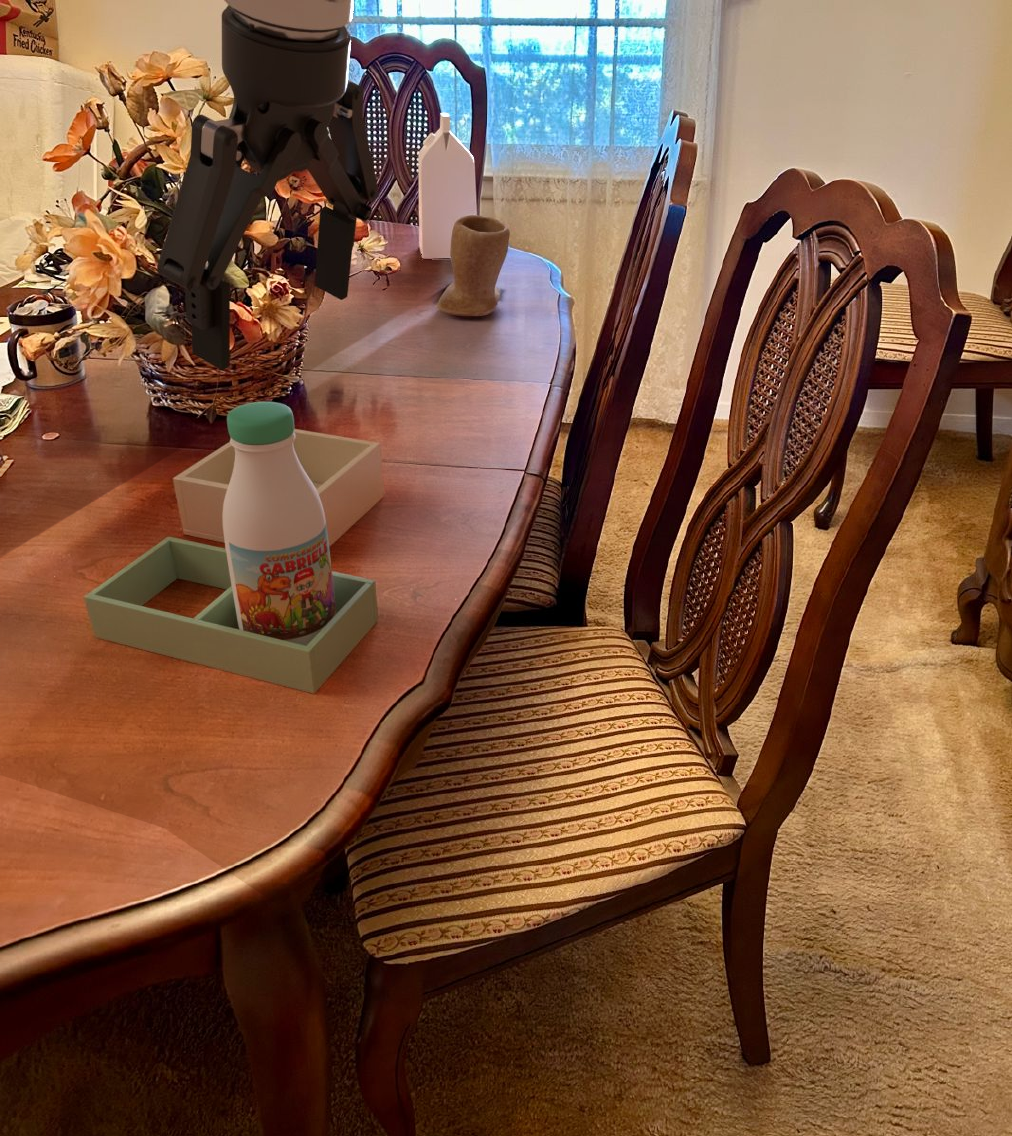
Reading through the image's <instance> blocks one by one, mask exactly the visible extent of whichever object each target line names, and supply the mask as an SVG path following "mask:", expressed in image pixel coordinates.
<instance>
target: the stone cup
mask: <svg viewBox="0 0 1012 1136" xmlns="http://www.w3.org/2000/svg"><path fill="white" fill-rule="evenodd" d="M510 237H511V231H510V228H509V226H507V224H505V222H503V221H500V220H499V219H496V218H493V217H490V216H485V215H478V214H477V215H468V216H464V217H461V218H459V219H458V220H457V221H456V222H455V224H454V227H453V230H452V238H451V251H450V257H451V259H450V262H451V266H452V272H453V281H452V282H451V283H449V285H448V286H447V287H446V288H445V290H444V292H442V295H440V297H439V300H438V301H437V309H438V310H439V311H440V312H443V313H445V314H448V315H451V316H452V315H453V316H460V317H484V316H487V315H489V314H491V313H492V312H493V311H495V309H496V308H497V306H498V303H499V301H500V298H501V295H502V290H501V289H500V288H499V287H497V286H496V285H497V283H498V279H499V276H500V273H501V270H502V268H503V265H504V263H505V262H506V261H505V260H506V257H507V254H508V251H509V245H510Z"/></svg>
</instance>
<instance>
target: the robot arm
mask: <svg viewBox="0 0 1012 1136" xmlns="http://www.w3.org/2000/svg"><path fill="white" fill-rule="evenodd" d="M223 1H224V2H225V3H226V5H227V6H226V7H225V8H224V10H222V12H221V68H222V72H223V75H224V77H225V78H226V81H227V82H228V84H229V87H230V88H231V91H232V94H233V102H232V107H231V110H230V113H229V117H228V118H226V119H219V120H214V119H212V118H210V117H208V116H206V115H204V114H198V115H196V116H195V117H194V118H193V120H192V123H191V135H190V154H189V157H188V162H187V164H186V167H185V172H184V175H183V178H182V182H181V185H180V188H179V192H178V194H177V198H176V202H175V205H174V209H173V212H172V216H171V218H170V222H169V225H168V230H167V231H166V235H165V239H164V242H163V245H162V249H161V252H160V256H159V259H158V262H157V267H156V271H157V273H158V274H159V275H160V276H162V277H164V278H166V279H168V281H169V280H170V281H171V282H173V283H174V284H176V285H178V286H180V287H182V288H184V290H185V291H184V296H185V297H184V298H185V299H184V300H185V317H186V320H187V322H188V323H189V324H191V351H192V353H191V354H192V355H194V356H196V357H198V358H199V359H201V360H203V361H205V362H206V363H208V364H210V365H211V366H213V367H215V368H217V369H218V370H220V371H224V370H226V369H228V368H230V366H231V365H230V363H231V361H230V360H231V358H230V357H231V356H230V354H231V344H230V343H231V284H230V283H228V282H226V281H224V280H222V279H223V277H224V275H225V273H226V271H227V269H228V267H229V266H230V264H231V261H232V259H233V257H234V255H235V253H236V251H237V249H238V247H239V245H240V243H241V241H242V239H243V237H244V235H245V233H246V232H247V231H246V230H247V229H248V228H249V225H250V223H251V221H252V219H253V217H254V215H255V213H256V210H257V209H258V207H259V205H260V204H261V203H260V202H261V201H262V199H263V198H267V197H270V196H271V195H272V194H273V192H274V190H275V188H276V186H277V185H278V182H280V181H282V180H285V179H287V178H288V177H289V176H290V175H292V174H293V173H299V172H300V173H301V172H304V171H306V170H307V171H308V173H309V175H310V177H312V179H313V180H314V182H315V183H316V185H317V187H318V188H319V190H320V191H321V193H322V194H323V196H324V198H325V199H326V201H327V202H328V204H329V205H331V206H332V208H331V207H328V206H324V207H322V208H320V210H319V220H318V233H317V246H316V247H317V248H316V258H315V259H316V261H315V273H314V275H315V276H314V287H316V288H318V289H320V290H322V291H323V292H325V293H327V294H329V295H331V296H333V297H334V298H337V299H338V300H340V301H343V300H345V299H346V298H348V295H349V285H350V277H351V276H350V274H351V265H352V257H353V249H354V245H355V240H356V239H355V237H356V230H357V229H356V228H357V220H360V221H362V222H365V223H366V222H367V221H369V219H370V218H371V215H372V213H373V208H372V206H370V205H368V204H366V202H370V203H373V202H375V201H376V199H377V198H378V196H379V185H378V181H377V176H376V172H375V167H374V163H373V159H372V153H371V148H370V144H369V140H368V135H367V131H366V126H365V121H364V87H363V86H361V85H359V84H357V83H355V82H353V81H351V80H349V79H348V78H349V67H350V55H351V45H352V44H351V42H352V36H351V34H350V32H349V30H348V28H347V27H346V26H347V25H348V24H349V23H350V22H351V21H352V19H353V13H354V12H353V11H354V0H223ZM244 161H245V162H246V163H247V164H248V166H249V167H250V168H251V169H252V170H253V171H255V172H256V173H259V174H258V175H255V174H253V173H251V172H250V171H248V170H246V169H244V168H243V167H242V164H243V162H244ZM241 167H242V168H241Z"/></svg>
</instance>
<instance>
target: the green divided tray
mask: <svg viewBox="0 0 1012 1136" xmlns="http://www.w3.org/2000/svg"><path fill="white" fill-rule="evenodd" d="M332 578H333V587H334V597H335V606H336V615H335V616H334V617H333V618H332V619H331V620H330V621H329V622H328V624H327V625H326V626H325V627H324V628H323V629H322V630H321V631H320V632H319V633H318V634H317V635H316V636H315V637H314V638H313V639H312V641H311V642H310V643H309V644H308V645H307V646H305V645H301V644H296V643H292V642H288V641H284V640H280V639H276V638H272V637H267V636H263V635H259V634H255V633H251V632H247V631H243V630H239V626H238V620H237V614H236V608H235V602H234V597H233V591H232V585H231V579H230V573H229V566H228V560H227V554H226V548H225V547H220V546H215V545H211V544H206V543H200V542H196V541H191V540H188V539H183V538H177V537H173V536H167V537H164V539H162V540H160V542H158V543H157V544H156V545H154V546H152V547H151V548H149V550H147V551H145V552H144V553H142V554H141V555H140V556H138V557H137V558H135V559H134V560H133V561H131V562H130V563H128V564H127V565H125V567H123V568H122V569H120V570H119V571H118V572H116V573H115V574H114V575H112V576H111V577H109V578H108V579H106V580H105V581H104V582H102V583H101V584H100V585H98V586H97V587H95V588H94V589H92V591H90V592H89V593H87V594H86V595H84V596H83V600H84V602H85V606H86V607H85V608H86V610H87V614H88V617H89V622H90V625H91V628H92V633H93V636H94V638H96V639H99V640H103V641H108V642H112V643H115V644H119V645H123V646H126V647H130V648H131V647H132V648H134V649H137V650H138V649H139V650H143V651H147V652H151V653H154V654H158V655H162V656H166V657H170V658H174V659H178V660H181V661H184V662H185V661H186V662H188V663H189V662H190V663H193V664H197V665H201V666H206V667H209V668H212V669H216V670H220V671H224V672H228V673H232V674H235V675H239V676H243V677H248V678H251V679H254V680H258V681H263V682H266V683H271V684H273V685H274V684H275V685H279V686H282V687H286V688H290V689H293V690H298V691H302V692H304V693H309V694H313V695H315V694H316V693H317V692H318V690H319V689H320V688H321V687H322V686H323V685H324V684H325V682H326V681H327V680H328V679H329V678H330V677H331V676H332V675H333V673H334V672H335V671H336V670H337V668H338V667H340V665H341V664H342V663H343V661H345V660H346V658H347V657H348V656H349V655H350V654H351V653H352V652H353V650H354V649H355V648H356V647H357V645H358V644H359V643H360V642H361V641H362V640H363V639H364V637H366V635H367V634H368V633H369V632H370V631H371V629H372V628H373V627H374V626H375V624H377V623H378V621H379V612H378V598H377V585H376V580H375V579H371V578H366V577H361V576H357V575H351V574H347V573H342V572H338V571H333V570H332ZM176 580H182V581H186V582H192V583H195V584H199V585H204V586H209V587H212V588H213V587H214V588H219V589H221V590H222V589H223V590H225V591H223V593H221V594H220V595H219V596H218V597H216V598H215V599H214V600H213V601H212V602H210V604H208V605H207V606H205V608H204V609H202V610H201V611H200V612H199V613H198V614H197V615H195V616H193V617H190V616H189V617H188V616H184V615H180V614H176V613H171V612H168V611H163V610H159V609H155V608H151V607H147V606H144V605H145V604H147V603H148V602H149V601H151V600H152V599H153V598H154V597H156V596H157V595H158V594H159V593H161V592H162V591H164V590H165V589H166V588H167V587H168V586H170V585H172V583H174V582H175V581H176Z"/></svg>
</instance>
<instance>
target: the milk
mask: <svg viewBox="0 0 1012 1136" xmlns="http://www.w3.org/2000/svg"><path fill="white" fill-rule="evenodd" d="M422 145H423V146H422V147H421V149H419V151H418V157H417V159H418V162H417V163H418V165H417V166H418V169H417V171H418V238H419V239H418V248H419V252H420V255H421V254H422V255H421V258H450V251H451V238H452V230H453V227H454V224H455V222H456V221H457V220H458V219H459V218H461V217H464V216H468V215H478V209H477V208H478V207H477V206H478V205H477V186H476V185H477V184H476V166H475V158H474V156H473V155H472V153H471V152H470V151H469V150H468V148H466V146H465V145H464V144H463V143H462V142H461V140H459V139H458V138H457V137H456V135H454V134H453V133H452V131H451V116H450V114H449V113H448V112H440V117H439V128H438V129H437V131H436V132H430V133H429V134H428V136H427V137H426V138H425V139H424V141H423V142H422Z"/></svg>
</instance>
